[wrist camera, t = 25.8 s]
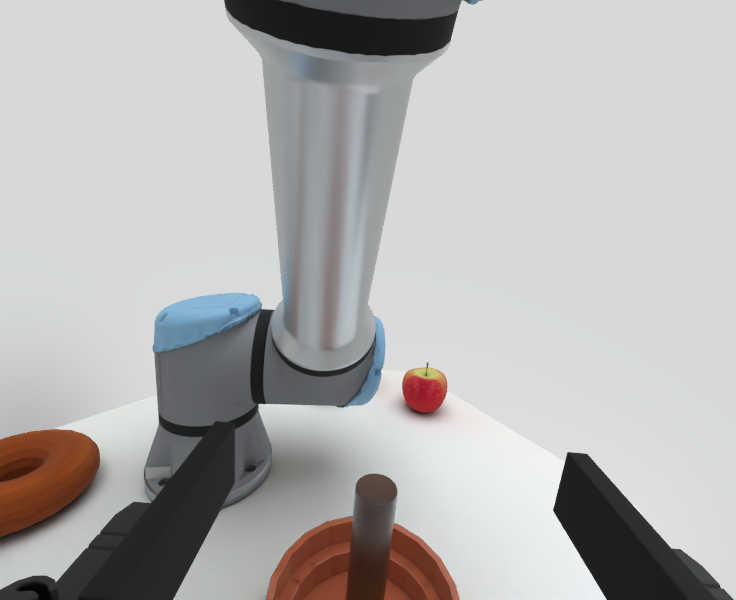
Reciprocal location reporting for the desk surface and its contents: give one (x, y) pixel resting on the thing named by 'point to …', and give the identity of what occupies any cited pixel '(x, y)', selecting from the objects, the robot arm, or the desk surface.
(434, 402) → the apple
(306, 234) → the robot arm
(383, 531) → the muddler
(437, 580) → the bowl
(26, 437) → the donut
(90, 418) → the desk surface
